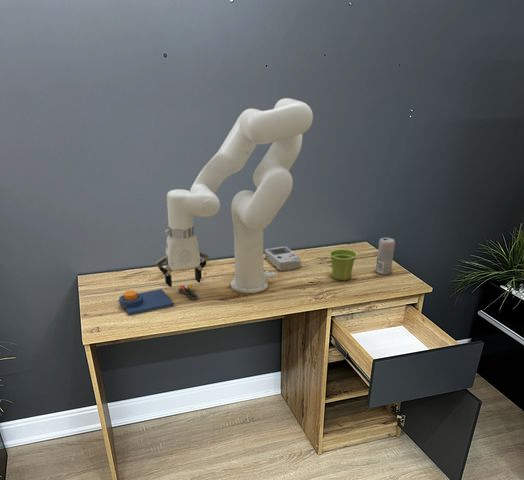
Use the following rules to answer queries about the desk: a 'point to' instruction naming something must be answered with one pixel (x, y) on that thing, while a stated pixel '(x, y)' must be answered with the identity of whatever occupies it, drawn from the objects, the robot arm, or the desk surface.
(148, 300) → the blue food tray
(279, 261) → the handheld gaming device
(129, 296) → the power button
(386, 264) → the energy drink
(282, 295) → the desk surface
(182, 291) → the composite cable
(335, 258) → the plant pot
